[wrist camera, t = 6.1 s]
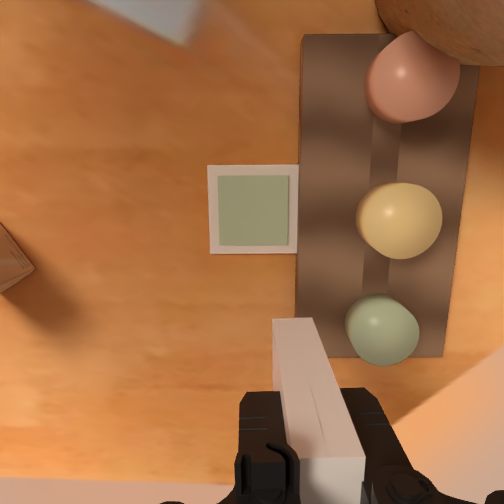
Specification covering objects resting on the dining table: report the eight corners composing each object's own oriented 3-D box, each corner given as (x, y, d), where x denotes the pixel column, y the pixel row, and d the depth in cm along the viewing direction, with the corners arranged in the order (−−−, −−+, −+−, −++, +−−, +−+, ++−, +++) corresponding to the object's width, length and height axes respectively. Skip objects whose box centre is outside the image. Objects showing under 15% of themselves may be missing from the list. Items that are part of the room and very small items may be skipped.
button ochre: (349, 179, 28) (368, 183, 23) (415, 179, 27) (446, 183, 23) (346, 243, 29) (363, 259, 24) (409, 243, 29) (437, 258, 24)
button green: (339, 283, 31) (354, 305, 26) (398, 283, 31) (422, 304, 26) (336, 337, 32) (350, 366, 28) (393, 337, 32) (416, 365, 28)
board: (300, 43, 27) (304, 34, 25) (467, 41, 27) (484, 32, 25) (293, 345, 33) (296, 357, 31) (431, 345, 33) (442, 357, 31)
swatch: (207, 164, 29) (206, 165, 28) (298, 164, 29) (299, 164, 28) (210, 252, 31) (209, 254, 30) (296, 251, 31) (297, 254, 30)
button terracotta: (356, 52, 25) (378, 29, 21) (427, 51, 25) (465, 28, 21) (352, 126, 27) (372, 120, 22) (420, 126, 27) (454, 119, 22)
